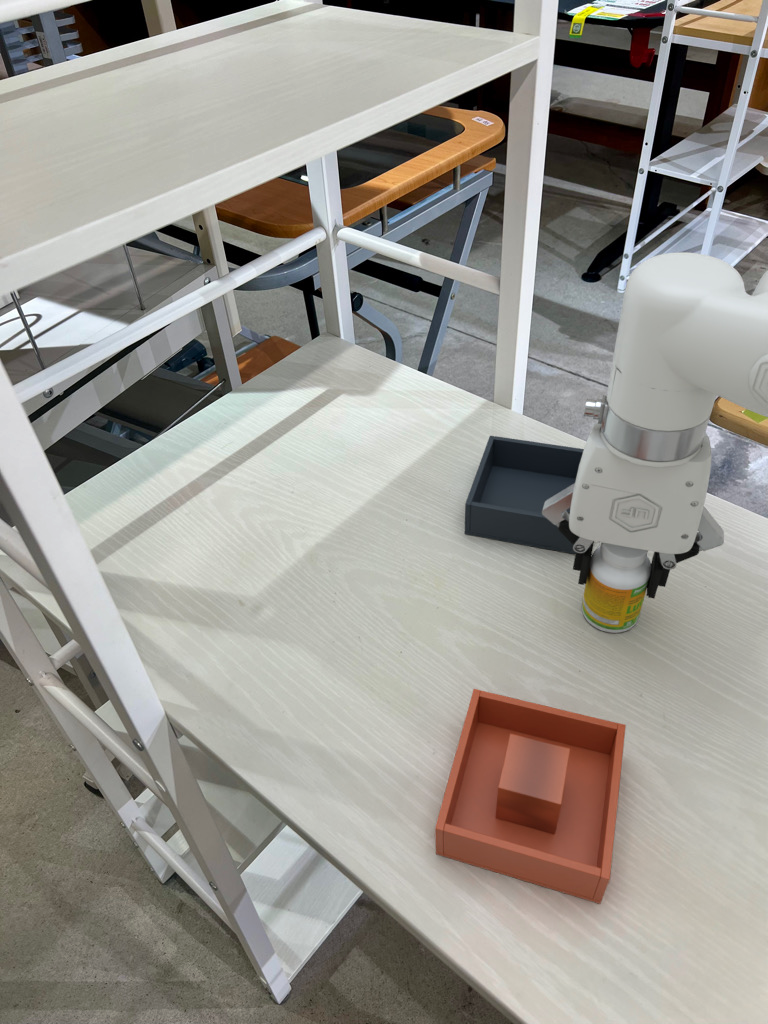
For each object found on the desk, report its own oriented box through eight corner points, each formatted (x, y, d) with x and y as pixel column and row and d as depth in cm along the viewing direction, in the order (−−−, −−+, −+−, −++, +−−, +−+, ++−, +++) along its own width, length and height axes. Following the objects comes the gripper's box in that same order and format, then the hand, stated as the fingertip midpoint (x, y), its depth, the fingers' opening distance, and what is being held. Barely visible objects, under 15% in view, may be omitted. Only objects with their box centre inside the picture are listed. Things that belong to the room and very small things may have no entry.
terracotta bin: (617, 753, 62) (625, 724, 59) (600, 904, 53) (609, 879, 50) (472, 717, 65) (473, 688, 62) (435, 854, 57) (434, 828, 53)
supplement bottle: (627, 643, 70) (646, 573, 63) (572, 621, 72) (585, 551, 65) (645, 603, 73) (665, 533, 66) (592, 584, 75) (606, 513, 68)
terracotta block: (563, 780, 60) (570, 748, 56) (554, 835, 57) (561, 804, 53) (506, 765, 61) (510, 732, 58) (495, 818, 58) (497, 787, 54)
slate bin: (592, 481, 86) (597, 450, 83) (578, 555, 78) (583, 524, 75) (488, 465, 90) (489, 435, 87) (464, 534, 81) (465, 504, 78)
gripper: (532, 434, 56) (517, 591, 69) (778, 470, 52) (715, 631, 64) (548, 381, 62) (531, 536, 74) (773, 409, 57) (715, 569, 69)
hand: (617, 578), depth 69 cm, fingers closed on supplement bottle, 5 cm apart
